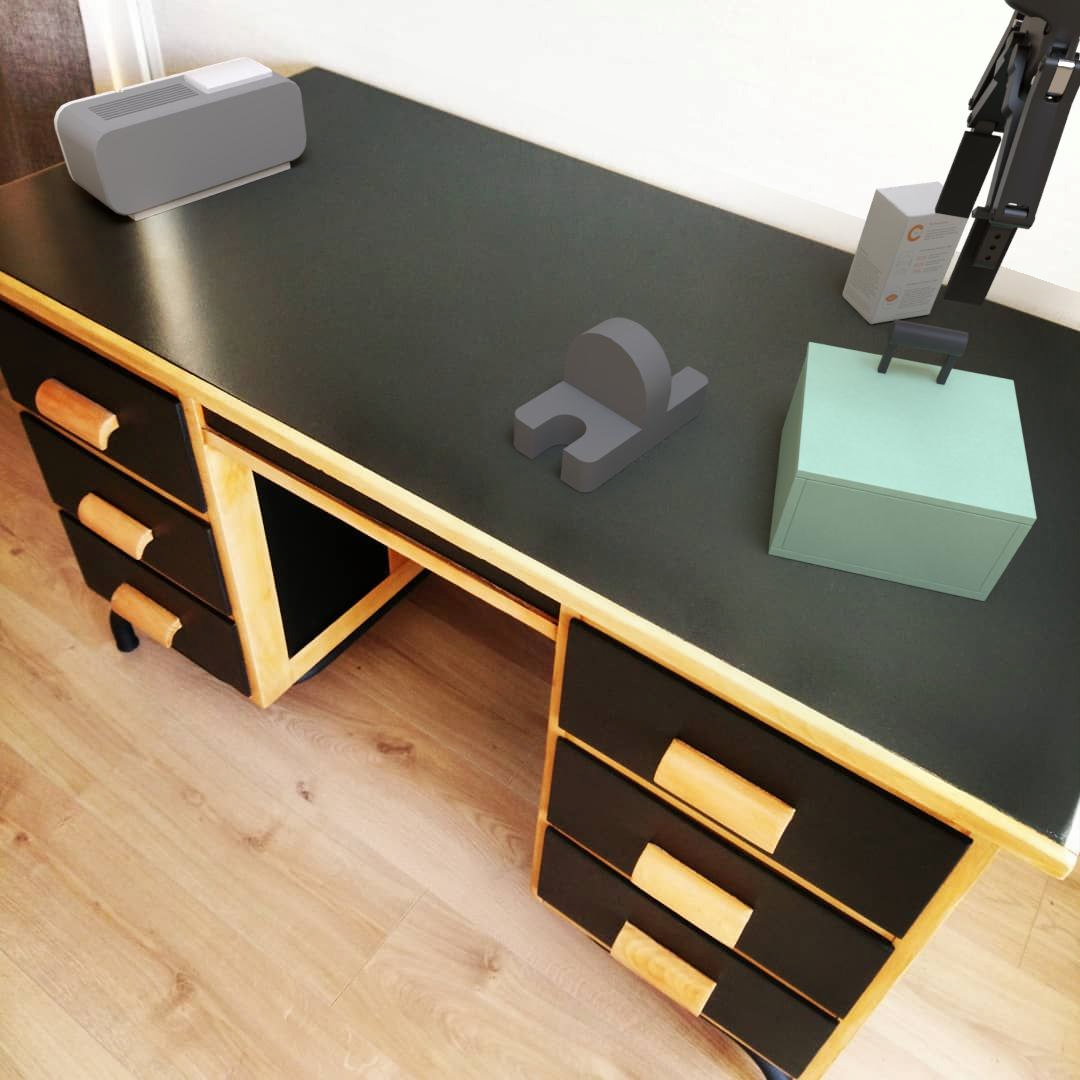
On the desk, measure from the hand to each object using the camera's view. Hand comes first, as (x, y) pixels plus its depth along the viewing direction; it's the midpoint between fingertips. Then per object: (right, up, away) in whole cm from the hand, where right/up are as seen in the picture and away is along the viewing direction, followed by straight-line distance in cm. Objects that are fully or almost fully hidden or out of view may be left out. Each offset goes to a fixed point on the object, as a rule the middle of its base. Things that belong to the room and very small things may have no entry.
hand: (956, 254), depth 73 cm
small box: (+7, +4, +34) cm, 35 cm away
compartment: (-3, -20, +11) cm, 22 cm away
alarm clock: (-75, +23, +45) cm, 91 cm away
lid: (-2, -13, +5) cm, 14 cm away
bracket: (-26, -11, +17) cm, 33 cm away
